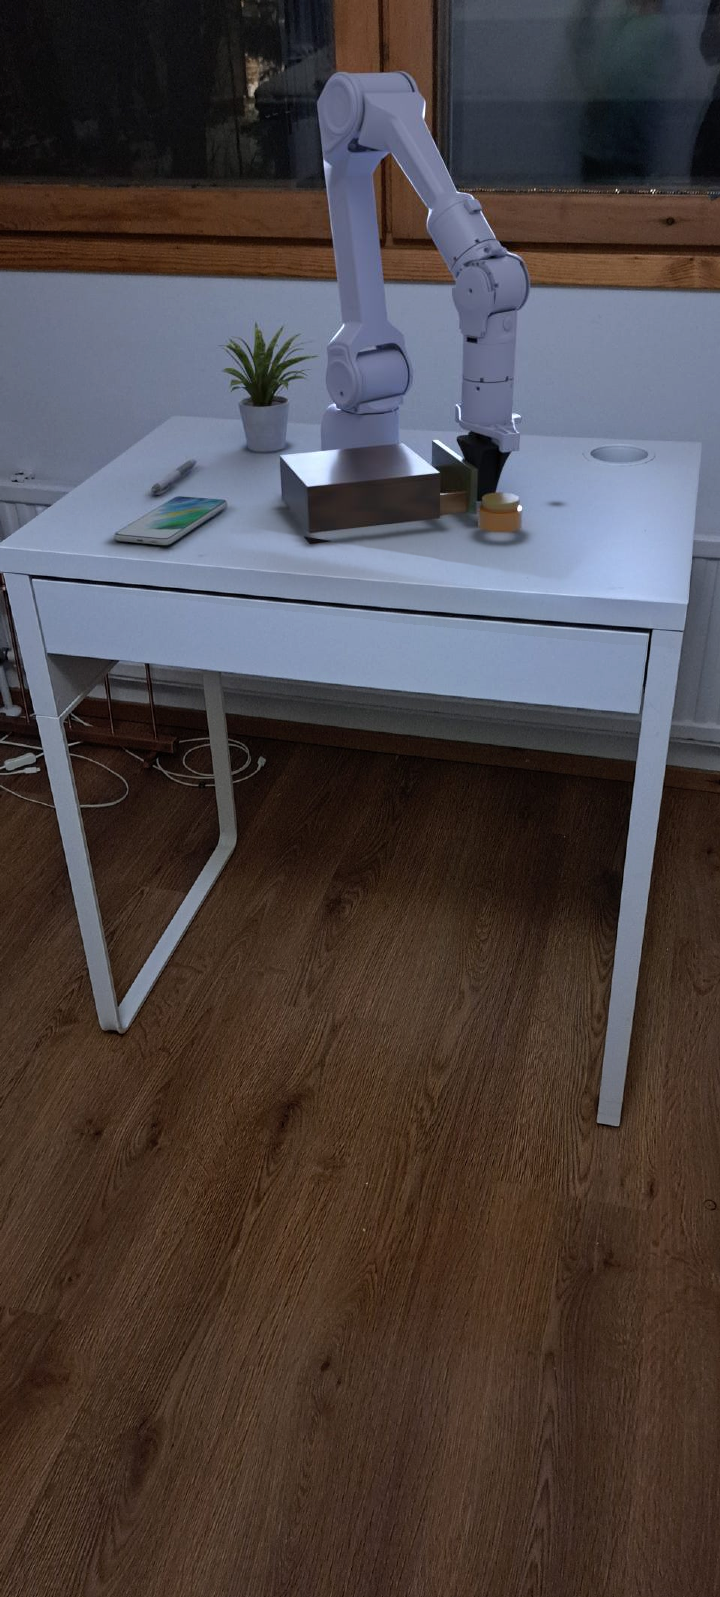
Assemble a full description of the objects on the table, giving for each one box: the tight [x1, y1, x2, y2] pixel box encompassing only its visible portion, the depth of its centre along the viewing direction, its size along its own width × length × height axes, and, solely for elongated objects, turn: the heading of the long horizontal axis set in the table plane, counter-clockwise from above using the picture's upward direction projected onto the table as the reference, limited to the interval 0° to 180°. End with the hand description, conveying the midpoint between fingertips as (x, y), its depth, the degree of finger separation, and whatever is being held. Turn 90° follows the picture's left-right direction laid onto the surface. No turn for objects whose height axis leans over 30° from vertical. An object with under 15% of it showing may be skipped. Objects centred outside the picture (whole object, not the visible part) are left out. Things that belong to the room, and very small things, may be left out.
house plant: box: [219, 322, 319, 453], centre depth 157 cm, size 14×14×16 cm
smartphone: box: [113, 495, 228, 546], centre depth 134 cm, size 7×1×15 cm
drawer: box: [431, 439, 478, 516], centre depth 134 cm, size 16×13×6 cm
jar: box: [477, 492, 523, 533], centre depth 127 cm, size 5×5×4 cm
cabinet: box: [279, 442, 441, 545], centre depth 133 cm, size 15×13×6 cm
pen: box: [150, 458, 197, 495], centre depth 148 cm, size 1×14×1 cm, turn 164°
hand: (483, 499), depth 134 cm, fingers closed, pressing on drawer
